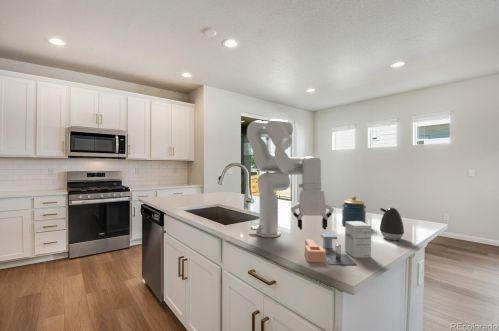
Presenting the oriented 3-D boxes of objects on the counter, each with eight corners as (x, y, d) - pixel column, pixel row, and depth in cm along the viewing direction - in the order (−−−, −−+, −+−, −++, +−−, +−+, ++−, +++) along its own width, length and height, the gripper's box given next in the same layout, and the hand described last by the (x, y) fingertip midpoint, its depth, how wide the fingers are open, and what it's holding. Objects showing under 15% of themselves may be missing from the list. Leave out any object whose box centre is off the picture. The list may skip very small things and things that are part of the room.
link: (325, 262, 91) (325, 251, 91) (308, 261, 91) (308, 251, 91) (316, 248, 105) (316, 239, 105) (301, 248, 105) (301, 239, 105)
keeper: (323, 250, 103) (323, 236, 102) (319, 246, 109) (320, 232, 109) (336, 251, 102) (337, 236, 102) (332, 246, 108) (332, 232, 108)
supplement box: (344, 251, 103) (344, 221, 102) (361, 250, 103) (361, 220, 103) (353, 258, 95) (353, 225, 95) (371, 257, 96) (371, 225, 96)
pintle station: (328, 264, 89) (328, 249, 89) (321, 254, 99) (321, 240, 99) (356, 265, 88) (356, 250, 88) (346, 254, 98) (346, 241, 98)
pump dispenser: (383, 234, 128) (383, 205, 127) (406, 238, 120) (406, 207, 120) (376, 238, 120) (376, 207, 120) (400, 243, 113) (400, 210, 113)
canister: (369, 228, 138) (370, 197, 138) (346, 228, 138) (347, 197, 138) (359, 223, 151) (360, 194, 151) (338, 223, 151) (339, 194, 151)
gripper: (291, 187, 97) (292, 231, 97) (335, 187, 97) (336, 231, 96) (289, 186, 105) (289, 226, 104) (330, 186, 104) (330, 226, 104)
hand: (312, 228), depth 100 cm, fingers open, 9 cm apart
